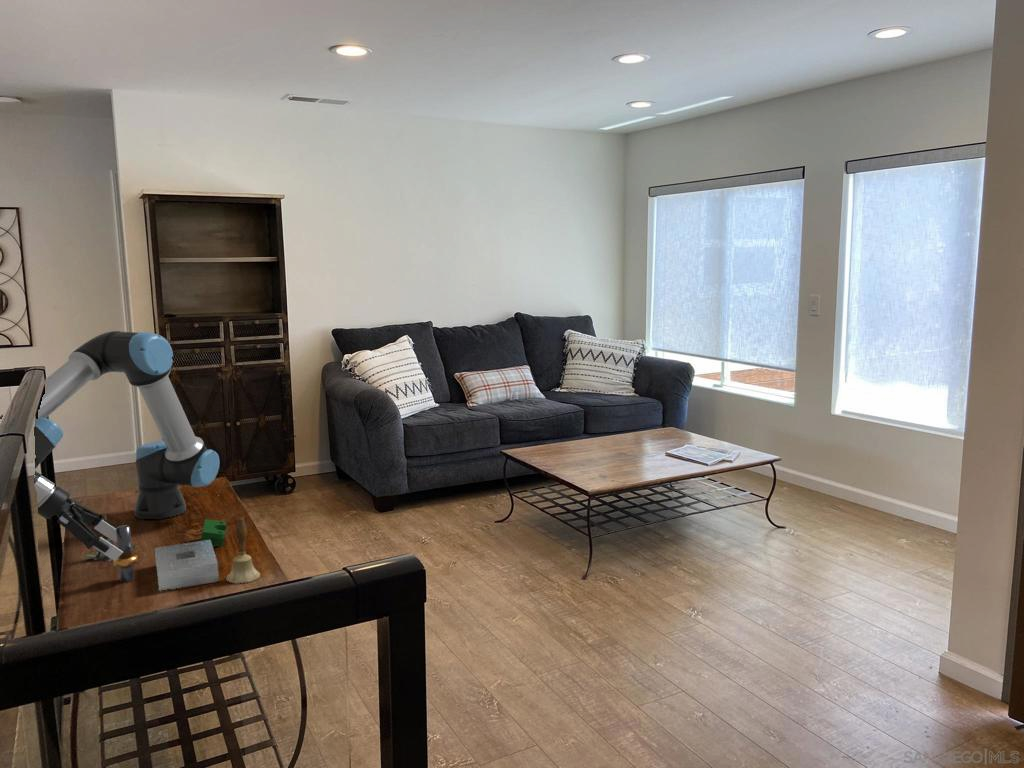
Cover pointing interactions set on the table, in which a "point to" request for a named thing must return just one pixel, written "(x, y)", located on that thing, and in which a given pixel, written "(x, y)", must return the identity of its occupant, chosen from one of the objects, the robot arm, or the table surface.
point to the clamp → (214, 532)
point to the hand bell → (242, 559)
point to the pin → (125, 554)
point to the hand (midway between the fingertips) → (119, 547)
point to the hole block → (186, 565)
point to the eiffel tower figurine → (97, 554)
